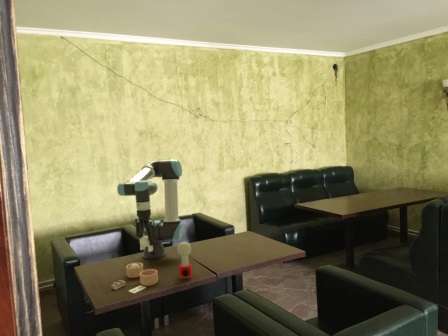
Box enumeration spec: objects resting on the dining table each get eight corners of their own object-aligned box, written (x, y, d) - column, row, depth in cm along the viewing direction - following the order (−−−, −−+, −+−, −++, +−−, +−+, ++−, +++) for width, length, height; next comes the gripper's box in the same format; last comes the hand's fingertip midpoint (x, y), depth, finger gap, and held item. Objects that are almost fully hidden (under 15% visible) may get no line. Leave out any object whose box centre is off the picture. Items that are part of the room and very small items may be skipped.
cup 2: (137, 283, 205) (136, 273, 204) (150, 277, 212) (149, 268, 212) (148, 287, 199) (147, 277, 199) (161, 280, 206) (160, 271, 206)
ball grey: (138, 247, 203) (137, 236, 202) (147, 244, 208) (146, 233, 207) (145, 248, 199) (144, 238, 199) (154, 245, 204) (153, 235, 203)
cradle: (111, 288, 200) (111, 283, 200) (122, 283, 205) (122, 279, 205) (115, 289, 198) (114, 284, 198) (126, 285, 203) (125, 280, 203)
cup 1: (123, 275, 217) (123, 266, 217) (136, 270, 224) (135, 261, 224) (134, 279, 211) (133, 269, 211) (146, 273, 219) (146, 264, 218)
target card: (128, 291, 195) (128, 290, 195) (140, 285, 201) (140, 285, 201) (134, 293, 192) (134, 292, 192) (146, 287, 198) (146, 287, 198)
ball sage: (127, 274, 217) (127, 264, 217) (136, 270, 222) (135, 261, 221) (134, 276, 214) (133, 266, 213) (142, 272, 218) (141, 263, 218)
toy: (193, 272, 216) (191, 239, 214) (192, 278, 208) (190, 243, 206) (179, 273, 215) (177, 240, 213) (178, 279, 207) (175, 244, 205)
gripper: (127, 208, 204) (130, 249, 207) (149, 212, 193) (152, 255, 195) (137, 206, 210) (140, 245, 212) (160, 209, 198) (163, 250, 201)
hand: (146, 250), depth 204 cm, fingers closed on ball grey, 6 cm apart
